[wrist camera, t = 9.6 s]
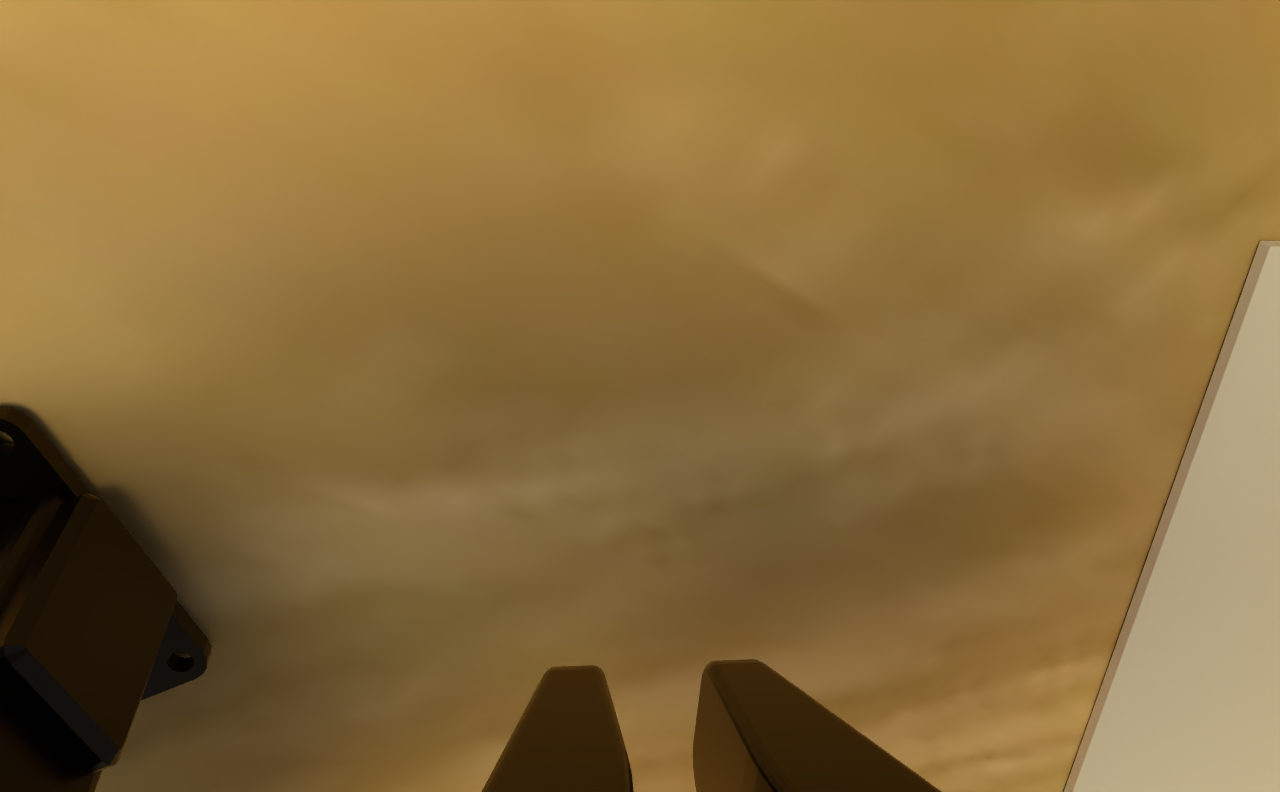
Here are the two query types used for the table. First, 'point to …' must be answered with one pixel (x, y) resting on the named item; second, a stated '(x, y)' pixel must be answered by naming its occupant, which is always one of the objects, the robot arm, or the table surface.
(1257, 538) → the card
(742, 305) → the table surface
